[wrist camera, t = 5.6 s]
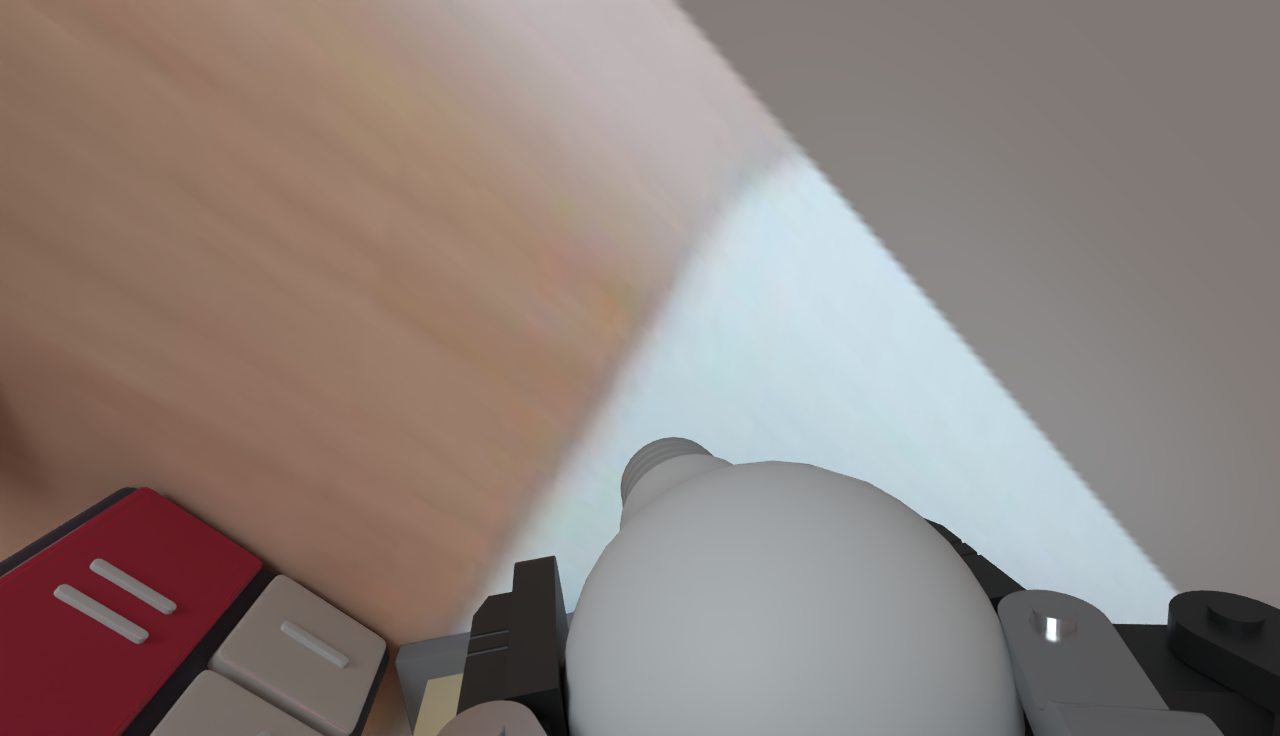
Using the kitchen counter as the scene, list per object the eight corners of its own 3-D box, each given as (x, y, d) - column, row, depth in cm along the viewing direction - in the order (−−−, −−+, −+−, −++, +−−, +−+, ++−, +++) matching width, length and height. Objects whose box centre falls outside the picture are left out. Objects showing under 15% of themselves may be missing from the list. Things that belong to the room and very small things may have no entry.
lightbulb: (815, 412, 17) (1267, 707, 7) (714, 609, 18) (979, 1150, 8) (606, 318, 16) (772, 507, 5) (505, 537, 17) (474, 1083, 6)
